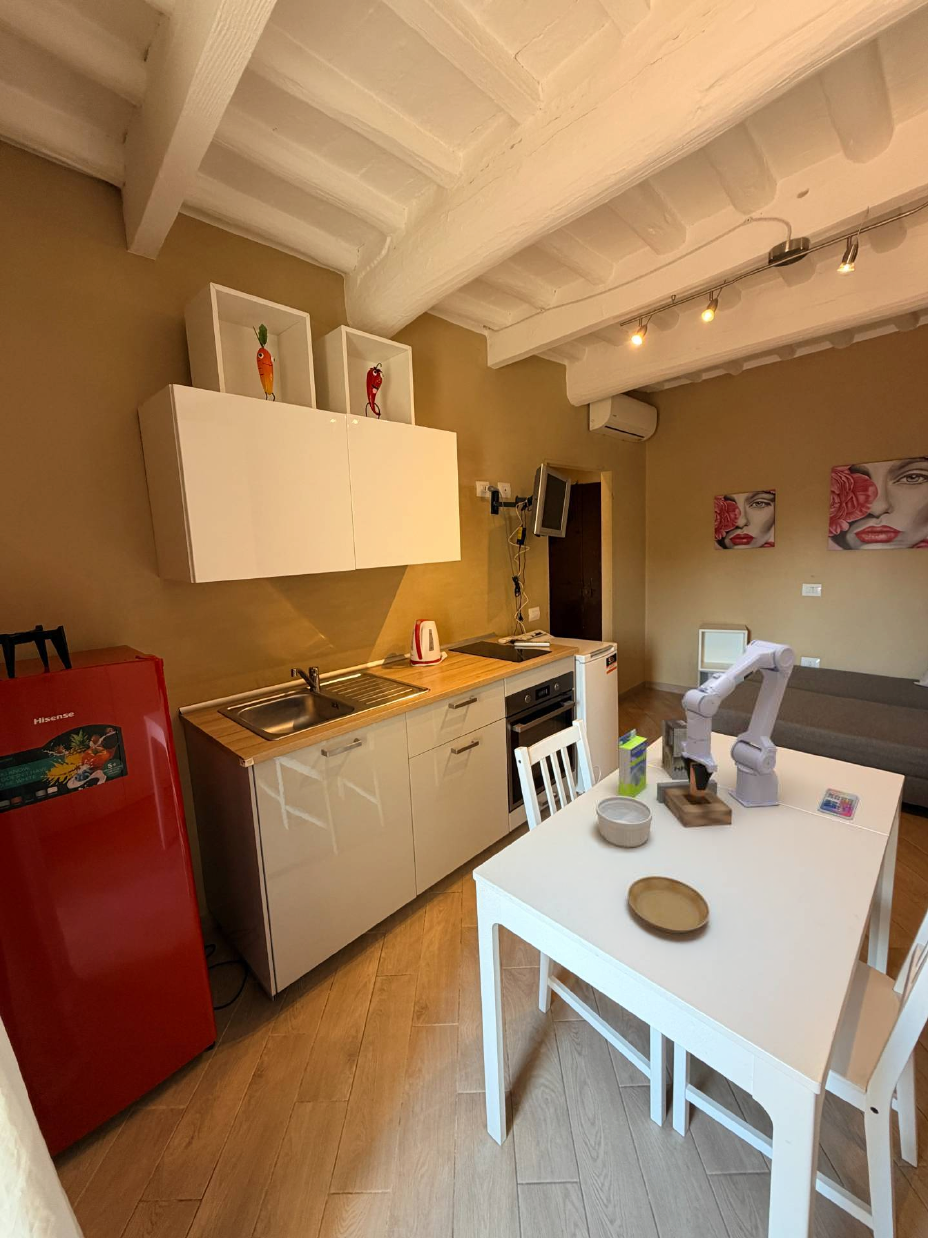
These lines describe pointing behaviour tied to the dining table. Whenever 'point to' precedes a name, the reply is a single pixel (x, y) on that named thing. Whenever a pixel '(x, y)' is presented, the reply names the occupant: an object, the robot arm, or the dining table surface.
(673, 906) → the plant saucer
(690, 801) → the socket block
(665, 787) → the wall
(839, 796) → the smartphone
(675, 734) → the coffee box
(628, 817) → the ramekin
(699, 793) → the dowel
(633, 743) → the box
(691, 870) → the dining table surface
